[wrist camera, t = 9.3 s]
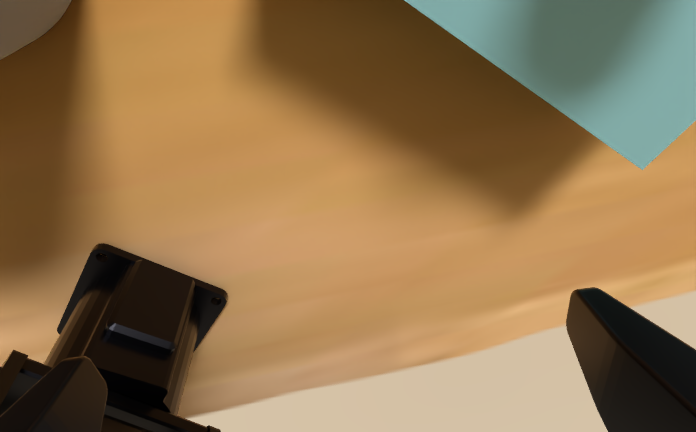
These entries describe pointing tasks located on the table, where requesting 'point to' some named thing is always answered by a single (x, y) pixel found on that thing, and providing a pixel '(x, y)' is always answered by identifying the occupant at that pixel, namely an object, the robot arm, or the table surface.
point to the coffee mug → (27, 21)
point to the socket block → (591, 61)
